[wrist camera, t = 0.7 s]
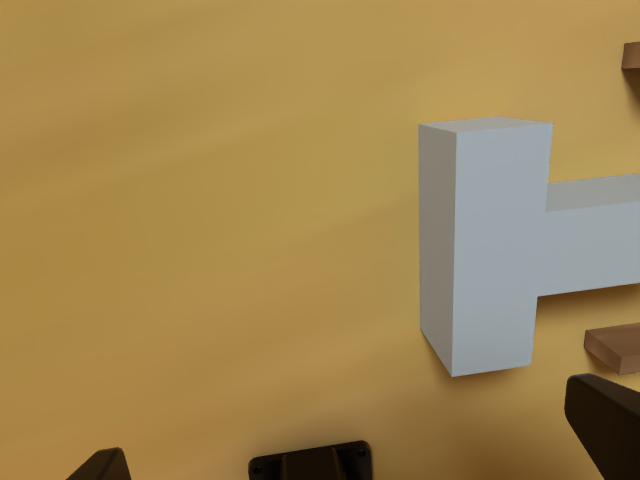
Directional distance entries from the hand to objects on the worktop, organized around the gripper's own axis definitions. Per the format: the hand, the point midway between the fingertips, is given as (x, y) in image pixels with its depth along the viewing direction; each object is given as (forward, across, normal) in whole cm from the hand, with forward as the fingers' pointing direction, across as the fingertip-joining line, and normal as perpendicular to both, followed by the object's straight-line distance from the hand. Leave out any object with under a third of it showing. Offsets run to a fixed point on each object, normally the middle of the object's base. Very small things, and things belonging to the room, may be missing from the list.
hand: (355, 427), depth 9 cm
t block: (+12, -11, 0) cm, 16 cm away
